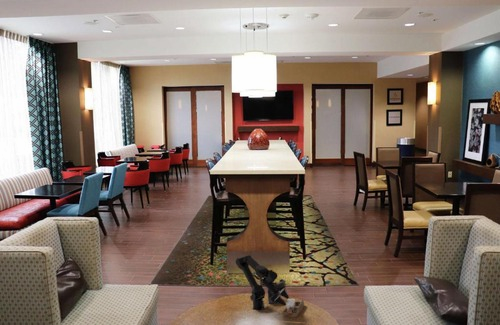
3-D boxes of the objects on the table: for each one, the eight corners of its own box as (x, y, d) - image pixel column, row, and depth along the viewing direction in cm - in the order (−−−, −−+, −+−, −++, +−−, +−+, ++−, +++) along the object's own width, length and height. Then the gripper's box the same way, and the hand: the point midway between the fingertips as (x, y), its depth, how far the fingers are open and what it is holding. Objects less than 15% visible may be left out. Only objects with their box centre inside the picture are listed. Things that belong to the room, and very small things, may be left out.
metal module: (287, 314, 289) (286, 301, 288) (289, 311, 293) (288, 298, 292) (294, 314, 287) (292, 301, 287) (295, 312, 291) (294, 298, 291)
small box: (269, 299, 321) (267, 284, 320) (278, 298, 320) (276, 284, 319) (268, 304, 310) (267, 290, 310) (277, 304, 310) (276, 289, 309)
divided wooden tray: (282, 317, 287) (281, 309, 287) (290, 305, 305) (289, 298, 305) (296, 318, 284) (296, 310, 283) (304, 306, 302) (303, 298, 301)
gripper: (273, 281, 282) (291, 299, 279) (281, 272, 300) (298, 288, 297) (263, 293, 286) (280, 311, 283) (271, 283, 303) (288, 299, 300)
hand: (287, 302), depth 291 cm, fingers open, 9 cm apart
